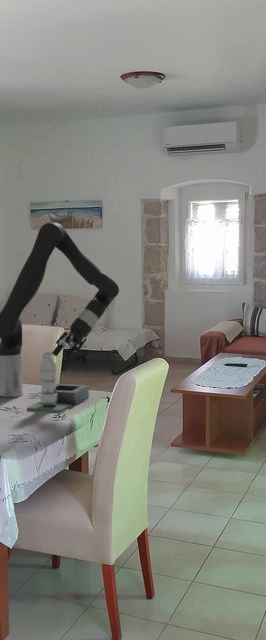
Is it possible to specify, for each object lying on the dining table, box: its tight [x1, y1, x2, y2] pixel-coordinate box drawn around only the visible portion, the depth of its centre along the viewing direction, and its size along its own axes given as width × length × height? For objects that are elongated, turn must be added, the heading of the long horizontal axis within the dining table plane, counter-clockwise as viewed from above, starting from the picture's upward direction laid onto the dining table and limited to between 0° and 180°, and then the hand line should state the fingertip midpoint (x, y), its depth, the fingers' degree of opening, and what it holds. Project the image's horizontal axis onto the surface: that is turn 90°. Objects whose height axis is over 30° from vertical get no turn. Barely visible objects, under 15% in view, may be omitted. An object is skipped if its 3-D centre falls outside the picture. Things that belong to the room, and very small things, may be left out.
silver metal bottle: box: [39, 352, 58, 406], centre depth 243 cm, size 6×7×20 cm
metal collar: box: [56, 383, 90, 406], centre depth 256 cm, size 14×13×5 cm
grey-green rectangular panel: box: [26, 401, 72, 414], centre depth 244 cm, size 14×9×1 cm, turn 71°
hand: (59, 356), depth 245 cm, fingers open, 8 cm apart
